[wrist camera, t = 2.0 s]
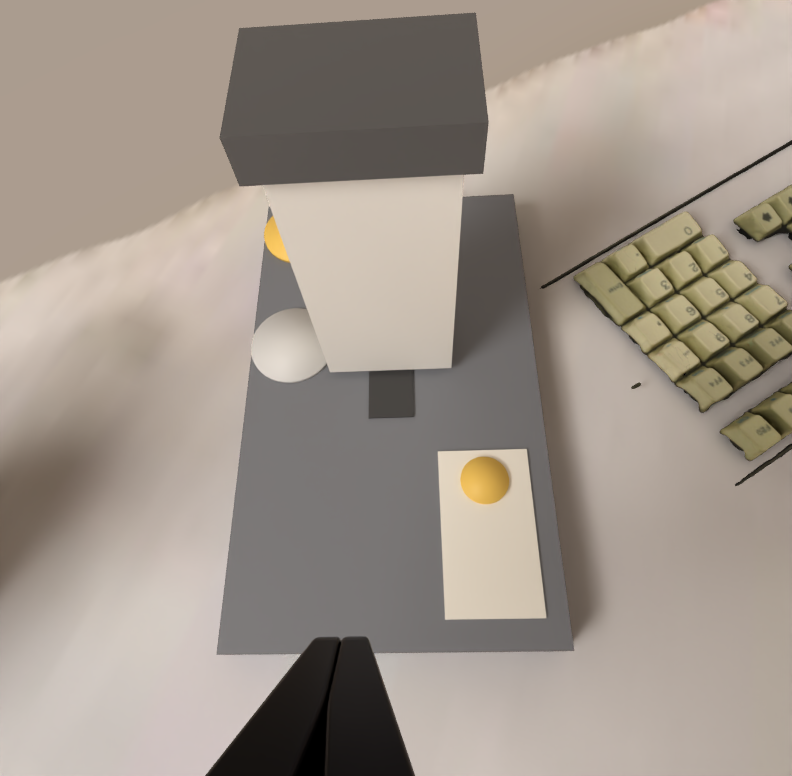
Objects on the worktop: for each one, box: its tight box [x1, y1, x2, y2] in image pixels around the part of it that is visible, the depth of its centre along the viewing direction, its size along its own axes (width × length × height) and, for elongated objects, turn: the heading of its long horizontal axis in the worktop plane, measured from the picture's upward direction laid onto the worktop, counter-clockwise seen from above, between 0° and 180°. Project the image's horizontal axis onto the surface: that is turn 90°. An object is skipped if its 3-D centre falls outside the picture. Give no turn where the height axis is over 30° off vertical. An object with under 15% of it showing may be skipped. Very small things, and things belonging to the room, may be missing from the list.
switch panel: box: [217, 194, 574, 655], centre depth 24 cm, size 20×12×2 cm, turn 1°
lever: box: [220, 13, 488, 372], centre depth 18 cm, size 4×6×12 cm, turn 91°
